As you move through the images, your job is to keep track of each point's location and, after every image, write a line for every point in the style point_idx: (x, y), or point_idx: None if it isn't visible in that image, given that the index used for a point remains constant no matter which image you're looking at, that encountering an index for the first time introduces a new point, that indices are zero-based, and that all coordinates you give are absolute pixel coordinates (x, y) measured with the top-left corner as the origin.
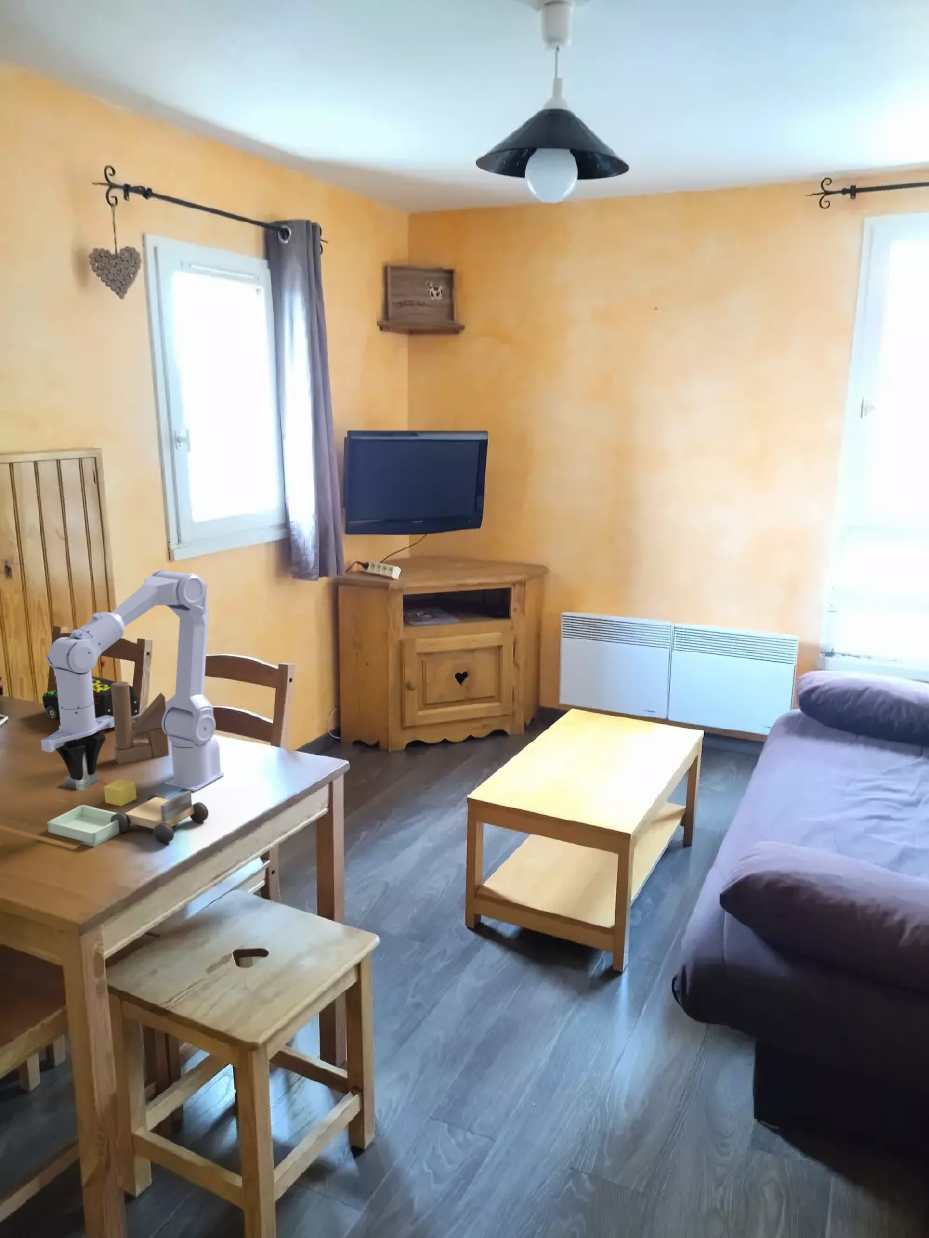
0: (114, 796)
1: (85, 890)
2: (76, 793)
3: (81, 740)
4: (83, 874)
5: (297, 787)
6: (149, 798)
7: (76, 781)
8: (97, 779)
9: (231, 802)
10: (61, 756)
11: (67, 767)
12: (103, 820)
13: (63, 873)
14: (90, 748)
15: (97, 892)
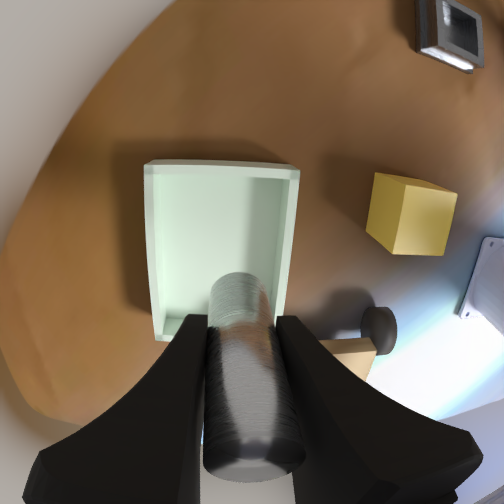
0: (385, 219)
1: (62, 390)
2: (407, 42)
3: (338, 499)
4: (82, 364)
5: (458, 411)
6: (380, 326)
7: (209, 312)
8: (472, 68)
9: (417, 389)
10: (112, 410)
11: (164, 352)
12: (275, 255)
13: (61, 333)
14: (302, 490)
15: (71, 404)
